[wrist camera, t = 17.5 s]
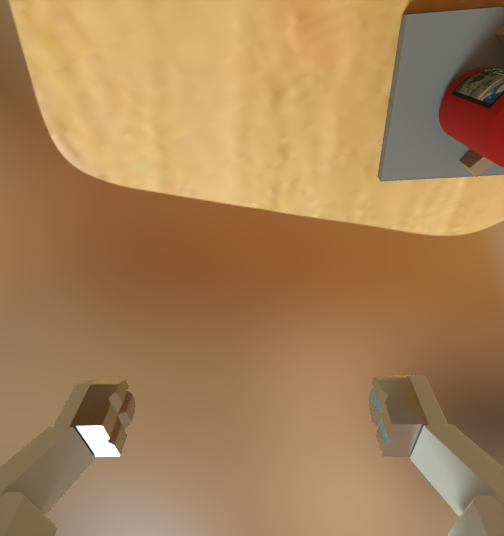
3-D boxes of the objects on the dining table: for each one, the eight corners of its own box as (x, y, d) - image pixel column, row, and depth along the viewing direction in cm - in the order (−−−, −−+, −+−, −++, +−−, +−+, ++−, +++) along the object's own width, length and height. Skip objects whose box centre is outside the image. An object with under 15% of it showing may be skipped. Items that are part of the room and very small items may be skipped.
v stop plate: (377, 176, 42) (387, 189, 39) (402, 14, 32) (417, 13, 29) (513, 169, 41) (535, 181, 37) (579, -1, 31) (615, -3, 28)
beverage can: (517, 67, 33) (621, 84, 24) (487, 138, 37) (566, 178, 28) (448, 64, 33) (524, 80, 24) (426, 135, 37) (483, 175, 28)
